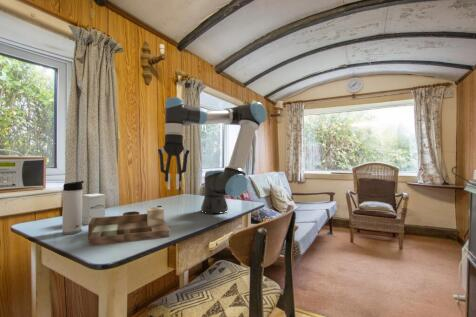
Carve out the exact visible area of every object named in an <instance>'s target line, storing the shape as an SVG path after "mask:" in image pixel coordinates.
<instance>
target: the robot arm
mask: <svg viewBox="0 0 476 317" xmlns="http://www.w3.org/2000/svg"><path fill="white" fill-rule="evenodd" d="M164 106H165V107H164V111H165V112H164V115H165V117H164V122H165V123H164V125H165V126H164V133H165V135H164V145H163V147H162V148H159V149H157V150H156V151H157V153H158V155H159V156H158V157H159V170H160V173H162V174H163V173H164V182H167V184H166V185H167V187H166V188H167V190H171V173H170V166H171V162H172V161H171V160H172V157H173V156H174V157H175V159H176V160H175V161H176V167H177V173H176V174H175V189H176V190H179V189H180V182H182V174H183V173H186V172H187V164H188V158H189V157H188V155H189V153H190V150H189V149H186V148H185V147H184V135H183V134H184V126H197V125H198V126H199V125H201V126H202V125H215V124H217V125H218V124H224V125H226V126H227V125H228V126H229V125H230V126H231V125H232V126H234V125H235V126H240V127H239V131H238V134H237V137H236V141H235V144H234V146H233V150H232V154H231V156H230V160H229V163H228V165H227V166H225V167H224V169H217V170H208V171H206V172H205V173H204V190H203V191H204V198H203V201H202V203H201V206H200V212H201V211H203V212H206V213H220V212H225V211H227V210H228V211H229V206H228V204H227V200H226V196H228V197H240V196H241V195H243V194H244V193H245V191H246V190H247V188H248V181H247V180H248V178H247V177H246V175H247V174H246V172H245V168H246V165H247V160H248V157H249V155H250V154H249V153H250V151H251V147H252V143H253V140H254V137H255V133H256V131H257V130H259V128H260V126H261V124H263V123H264V122H266V119H267V116H268V115H267V111H266V107H265V106H264V105H263V104H262V103H261V102H258V101H256V102H251V103H246V104H241V105H237V106H234V107H226V108H224V109H215V110H214V109H210V110H208V109H207V110H206V109H205V108H202V107H198V106H197V107H196V106H192V105H186V104H185V102H184V99H183V98H180V97H175V96H172V97H166V99H165V105H164ZM164 152H165V153H166V154H167V159H166V164H164ZM182 152H183V159H182V160H183V161H182V163H181V153H182ZM206 213H205V214H206Z"/></svg>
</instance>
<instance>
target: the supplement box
mask: <svg viewBox="0 0 476 317" xmlns="http://www.w3.org/2000/svg"><path fill="white" fill-rule="evenodd" d="M96 217H106V193H105V194H104V193H88V194H82V224H84V225H87V226H88V224H89V223H90V221H91V219H92V218H96Z"/></svg>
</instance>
